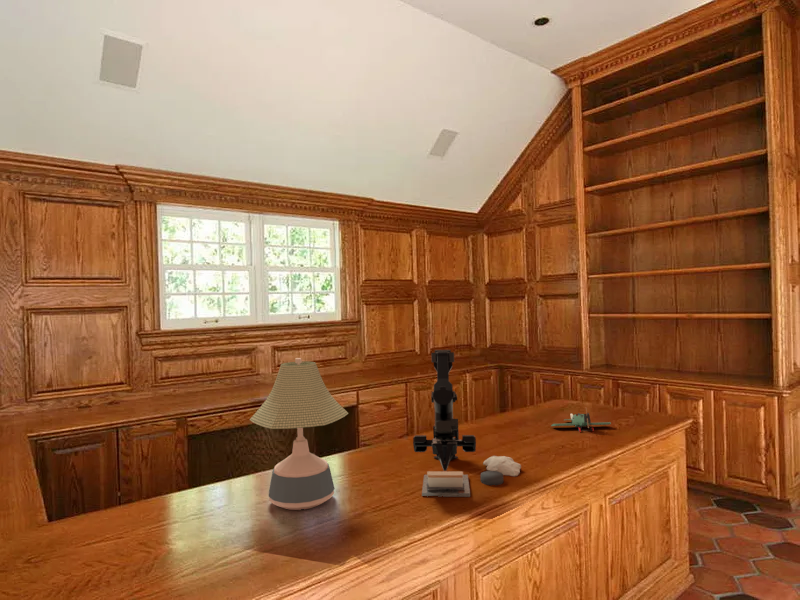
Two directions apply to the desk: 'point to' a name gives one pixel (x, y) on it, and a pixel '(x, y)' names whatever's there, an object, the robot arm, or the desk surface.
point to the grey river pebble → (491, 478)
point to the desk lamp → (299, 434)
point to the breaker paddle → (445, 480)
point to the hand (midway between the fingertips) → (445, 470)
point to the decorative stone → (502, 465)
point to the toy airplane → (581, 421)
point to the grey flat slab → (446, 490)
